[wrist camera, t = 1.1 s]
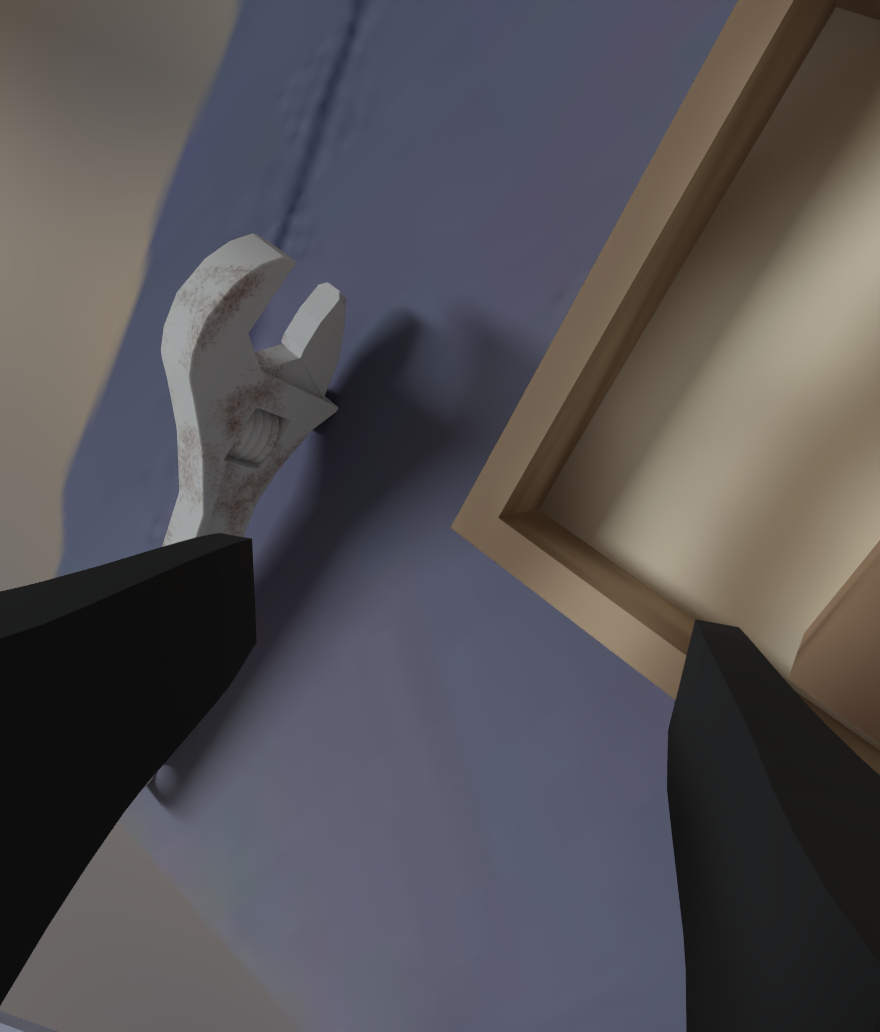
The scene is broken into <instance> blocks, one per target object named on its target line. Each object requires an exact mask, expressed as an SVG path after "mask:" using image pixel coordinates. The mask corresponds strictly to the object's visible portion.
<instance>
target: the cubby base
mask: <svg viewBox="0 0 880 1032" xmlns="http://www.w3.org/2000/svg"><path fill="white" fill-rule="evenodd" d="M451 528H452V529H453V530H454V531H455V532H457V533H458V534H459V535H461V536H462V537H463V538H465V539H466V540H467V541H469V542H470V543H471V544H472V545H474V546H475V547H476V548H478V549H479V550H480V551H482V552H483V553H484V554H485V555H487V556H488V557H489V558H491V559H492V560H493V561H495V562H496V563H497V564H499V565H500V566H501V567H502V568H504V569H505V570H506V571H508V572H509V573H510V574H512V575H513V576H514V577H516V578H517V579H518V580H519V581H521V582H522V583H523V584H525V585H526V586H527V587H529V588H530V589H531V590H532V591H534V592H535V593H536V594H538V595H539V596H540V597H542V598H543V599H544V600H546V601H547V602H548V603H549V604H551V605H552V606H553V607H555V608H556V609H557V610H559V611H560V612H561V613H563V614H564V615H565V616H566V617H568V618H569V619H570V620H572V621H573V622H574V623H576V624H577V625H578V626H579V627H581V628H582V629H583V630H585V631H586V632H587V633H589V634H590V635H591V636H593V637H594V638H595V639H596V640H598V641H599V642H600V643H602V644H603V645H604V646H606V647H607V648H608V649H609V650H611V651H612V652H613V653H615V654H616V655H617V656H619V657H620V658H621V659H623V660H624V661H625V662H626V663H628V664H629V665H630V666H632V667H633V668H634V669H636V670H637V671H638V672H640V673H641V674H642V675H643V676H645V677H646V678H647V679H649V680H650V681H651V682H653V683H654V684H655V685H656V686H658V687H659V688H660V689H662V690H663V691H664V692H666V693H667V694H668V695H670V696H671V697H672V698H673V699H675V700H676V696H677V692H678V688H679V684H680V680H681V676H682V672H683V668H684V663H685V659H686V655H687V651H688V647H689V643H690V639H691V635H692V631H693V627H694V622H695V619H697V620H702V621H708V622H713V623H719V624H724V625H730V626H735V627H739V628H740V629H741V630H742V631H743V632H744V633H745V634H746V635H747V636H748V638H749V639H750V640H751V641H752V642H753V643H754V644H755V646H756V647H757V648H758V649H759V650H760V651H761V653H762V654H763V655H764V656H765V657H766V658H767V660H768V661H769V662H770V663H771V664H772V665H773V667H774V668H775V669H776V670H777V671H778V672H779V674H780V675H781V676H782V677H783V678H784V679H785V680H786V681H787V683H788V684H789V685H790V686H791V687H792V688H793V689H794V690H795V692H796V693H797V694H798V695H799V696H800V697H801V698H802V699H803V700H804V701H805V702H806V704H807V705H808V706H809V707H810V708H811V709H812V710H813V711H814V712H815V713H816V714H817V715H818V716H819V717H820V718H821V719H822V720H823V721H824V722H825V723H826V724H827V725H828V727H829V728H830V729H831V730H832V731H833V732H834V733H835V734H836V735H838V736H839V737H840V738H841V739H842V740H843V741H844V742H845V743H846V744H847V745H848V746H849V747H850V748H851V749H852V750H853V751H854V752H855V753H856V754H857V755H858V756H859V757H860V758H861V759H862V760H863V761H865V762H866V763H867V764H868V765H869V766H870V767H871V768H872V769H873V770H874V771H876V772H877V773H878V774H879V775H880V743H879V742H877V741H876V740H874V739H873V738H872V737H870V736H869V735H867V734H866V733H864V732H863V731H862V730H860V729H859V728H857V727H856V726H854V725H853V724H852V723H850V722H849V721H847V720H846V719H844V718H843V717H842V716H840V715H839V714H837V713H836V712H835V711H833V710H832V709H830V708H829V707H827V706H826V705H825V704H823V703H822V702H820V701H819V700H817V699H816V698H815V697H813V696H812V695H810V694H809V693H808V692H806V691H805V690H803V689H802V688H800V687H799V686H798V685H796V684H795V683H793V682H792V681H790V680H789V679H788V677H789V674H790V671H791V669H792V666H793V663H794V660H795V657H796V655H797V652H798V649H799V646H800V643H801V641H802V638H803V635H804V633H805V631H806V630H807V629H808V628H809V626H810V625H811V624H812V623H813V622H814V620H815V619H816V618H817V617H818V615H819V614H820V613H821V612H822V610H823V609H824V608H825V607H826V606H827V604H828V603H829V602H830V601H831V599H832V598H833V597H834V596H835V595H836V593H837V592H838V591H839V590H840V588H841V587H842V586H843V585H844V583H845V582H846V581H847V580H848V579H849V577H850V576H851V575H852V574H853V572H854V571H855V570H856V569H857V568H858V566H859V565H860V564H861V563H862V561H863V560H864V559H865V558H866V556H867V555H868V554H869V553H870V552H871V550H872V549H873V548H874V547H875V545H876V544H877V543H878V542H879V541H880V0H738V2H737V4H736V5H735V7H734V9H733V11H732V13H731V15H730V16H729V18H728V20H727V22H726V24H725V26H724V27H723V29H722V31H721V33H720V35H719V37H718V38H717V40H716V42H715V44H714V46H713V48H712V49H711V51H710V53H709V55H708V57H707V59H706V60H705V62H704V64H703V66H702V68H701V70H700V71H699V73H698V75H697V77H696V79H695V81H694V82H693V84H692V86H691V88H690V90H689V92H688V93H687V95H686V97H685V99H684V101H683V103H682V104H681V106H680V108H679V110H678V112H677V114H676V115H675V117H674V119H673V121H672V123H671V125H670V126H669V128H668V130H667V132H666V134H665V136H664V137H663V139H662V141H661V143H660V145H659V147H658V148H657V150H656V152H655V154H654V156H653V158H652V159H651V161H650V163H649V165H648V167H647V169H646V170H645V172H644V174H643V176H642V178H641V180H640V181H639V183H638V185H637V187H636V189H635V191H634V192H633V194H632V196H631V198H630V200H629V202H628V203H627V205H626V207H625V209H624V211H623V213H622V214H621V216H620V218H619V220H618V222H617V224H616V225H615V227H614V229H613V231H612V233H611V235H610V236H609V238H608V240H607V242H606V244H605V246H604V247H603V249H602V251H601V253H600V255H599V257H598V258H597V260H596V262H595V264H594V266H593V268H592V269H591V271H590V273H589V275H588V277H587V279H586V280H585V282H584V284H583V286H582V288H581V290H580V291H579V293H578V295H577V297H576V299H575V301H574V302H573V304H572V306H571V308H570V310H569V312H568V313H567V315H566V317H565V319H564V321H563V323H562V324H561V326H560V328H559V330H558V332H557V334H556V335H555V337H554V339H553V341H552V343H551V345H550V346H549V348H548V350H547V352H546V354H545V356H544V357H543V359H542V361H541V363H540V365H539V367H538V368H537V370H536V372H535V374H534V376H533V378H532V379H531V381H530V383H529V385H528V387H527V389H526V390H525V392H524V394H523V396H522V398H521V400H520V401H519V403H518V405H517V407H516V409H515V411H514V412H513V414H512V416H511V418H510V420H509V422H508V423H507V425H506V427H505V429H504V431H503V433H502V434H501V436H500V438H499V440H498V442H497V444H496V445H495V447H494V449H493V451H492V453H491V455H490V456H489V458H488V460H487V462H486V464H485V466H484V467H483V469H482V471H481V473H480V475H479V477H478V478H477V480H476V482H475V484H474V486H473V488H472V489H471V491H470V493H469V495H468V497H467V499H466V500H465V502H464V504H463V506H462V508H461V510H460V511H459V513H458V515H457V517H456V519H455V521H454V522H453V524H452V526H451Z"/></svg>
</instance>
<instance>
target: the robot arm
mask: <svg viewBox="0 0 880 1032" xmlns="http://www.w3.org/2000/svg"><path fill="white" fill-rule="evenodd" d="M255 643H256V619H255V597H254V574H253V552H252V539H250V538H245V537H239V536H234V535H228V534H223V533H216V534H210V535H205V536H200V537H196V538H192V539H188V540H184V541H181V542H177V543H174V544H170V545H167V546H164V547H160V548H157V549H154V550H150V551H147V552H144V553H141V554H137V555H134V556H131V557H127V558H124V559H121V560H118V561H114V562H111V563H108V564H104V565H101V566H97V567H94V568H90V569H87V570H83V571H79V572H76V573H72V574H68V575H65V576H61V577H57V578H54V579H50V580H47V581H43V582H39V583H35V584H31V585H27V586H23V587H19V588H14V589H10V590H5V591H1V592H0V1005H1V1003H2V1002H3V1000H4V998H5V997H6V995H7V993H8V991H9V990H10V988H11V987H12V985H13V983H14V982H15V980H16V978H17V977H18V975H19V973H20V972H21V970H22V968H23V967H24V965H25V963H26V962H27V960H28V958H29V957H30V955H31V954H32V952H33V950H34V948H35V947H36V945H37V944H38V942H39V940H40V938H41V937H42V935H43V934H44V932H45V930H46V929H47V927H48V925H49V924H50V922H51V921H52V919H53V918H54V916H55V914H56V913H57V911H58V910H59V908H60V907H61V905H62V904H63V902H64V901H65V899H66V897H67V896H68V894H69V893H70V891H71V890H72V888H73V887H74V885H75V884H76V882H77V880H78V879H79V877H80V876H81V874H82V873H83V871H84V870H85V868H86V867H87V865H88V864H89V862H90V861H91V859H92V858H93V856H94V855H95V853H96V852H97V850H98V849H99V848H100V846H101V845H102V843H103V842H104V840H105V839H106V838H107V836H108V835H109V833H110V832H111V830H112V829H113V827H114V826H115V825H116V823H117V822H118V820H119V819H120V817H121V816H122V814H123V813H124V812H125V810H126V809H127V808H128V806H129V805H130V804H131V803H132V801H133V800H134V799H135V798H136V796H137V795H138V794H139V792H140V791H141V790H142V789H143V787H144V786H145V785H146V784H147V783H148V782H149V780H150V779H151V778H152V777H153V776H154V775H155V773H156V772H157V771H158V770H159V769H160V768H161V766H162V765H163V764H164V763H165V762H166V761H167V759H168V758H169V757H170V756H171V755H172V754H173V752H174V751H175V750H176V749H177V748H178V747H179V745H180V744H181V743H182V742H183V741H184V740H185V738H186V737H187V736H188V735H189V734H190V733H191V731H192V730H193V729H194V728H195V727H196V726H197V724H198V723H199V722H200V721H201V720H202V718H203V717H204V716H205V715H206V714H207V713H208V711H209V710H210V709H211V708H212V707H213V705H214V704H215V703H216V702H217V701H218V699H219V698H220V697H221V696H222V694H223V693H224V692H225V691H226V690H227V688H228V687H229V685H230V684H231V682H232V681H233V679H234V678H235V676H236V675H237V673H238V671H239V670H240V668H241V667H242V665H243V663H244V662H245V660H246V658H247V657H248V655H249V653H250V652H251V650H252V648H253V647H254V645H255ZM667 792H668V802H669V811H670V821H671V830H672V839H673V848H674V856H675V865H676V874H677V882H678V891H679V900H680V909H681V917H682V926H683V935H684V950H685V964H686V1022H687V1032H880V775H879V774H878V773H877V772H876V771H874V770H873V769H872V768H871V767H870V766H869V765H868V764H867V763H866V762H865V761H863V760H862V759H861V758H860V757H859V756H858V755H857V754H856V753H855V752H854V751H853V750H852V749H851V748H850V747H849V746H848V745H847V744H846V743H845V742H844V741H843V740H842V739H841V738H840V737H839V736H838V735H836V734H835V733H834V732H833V731H832V730H831V729H830V728H829V727H828V725H827V724H826V723H825V722H824V721H823V720H822V719H821V718H820V717H819V716H818V715H817V714H816V713H815V712H814V711H813V710H812V709H811V708H810V707H809V706H808V705H807V704H806V702H805V701H804V700H803V699H802V698H801V697H800V696H799V695H798V694H797V693H796V692H795V690H794V689H793V688H792V687H791V686H790V685H789V684H788V683H787V681H786V680H785V679H784V678H783V677H782V676H781V675H780V674H779V672H778V671H777V670H776V669H775V668H774V667H773V665H772V664H771V663H770V662H769V661H768V660H767V658H766V657H765V656H764V655H763V654H762V653H761V651H760V650H759V649H758V648H757V647H756V646H755V644H754V643H753V642H752V641H751V640H750V639H749V638H748V636H747V635H746V634H745V633H744V632H743V631H742V630H741V629H740V628H739V627H735V626H730V625H724V624H719V623H713V622H708V621H702V620H697V619H695V622H694V627H693V631H692V635H691V639H690V643H689V647H688V651H687V655H686V659H685V663H684V668H683V672H682V676H681V680H680V684H679V688H678V692H677V696H676V700H675V705H674V709H673V713H672V717H671V721H670V725H669V729H668V762H667ZM0 1032H57V1031H55V1030H53V1029H50V1028H47V1027H44V1026H42V1025H39V1024H36V1023H33V1022H31V1021H28V1020H25V1019H22V1018H19V1017H17V1016H14V1015H11V1014H8V1013H5V1012H3V1011H0Z"/></svg>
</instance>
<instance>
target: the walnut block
mask: <svg viewBox="0 0 880 1032" xmlns="http://www.w3.org/2000/svg"><path fill="white" fill-rule="evenodd" d="M788 679H789V680H790V681H792V682H793V683H795V684H796V685H798V686H799V687H800V688H802V689H803V690H805V691H806V692H808V693H809V694H810V695H812V696H813V697H815V698H816V699H817V700H819V701H820V702H822V703H823V704H825V705H826V706H827V707H829V708H830V709H832V710H833V711H835V712H836V713H837V714H839V715H840V716H842V717H843V718H844V719H846V720H847V721H849V722H850V723H852V724H853V725H854V726H856V727H857V728H859V729H860V730H862V731H863V732H864V733H866V734H867V735H869V736H870V737H872V738H873V739H874V740H876V741H877V742H879V743H880V541H879V542H878V543H877V544H876V545H875V547H874V548H873V549H872V550H871V552H870V553H869V554H868V555H867V556H866V558H865V559H864V560H863V561H862V563H861V564H860V565H859V566H858V568H857V569H856V570H855V571H854V572H853V574H852V575H851V576H850V577H849V579H848V580H847V581H846V582H845V583H844V585H843V586H842V587H841V588H840V590H839V591H838V592H837V593H836V595H835V596H834V597H833V598H832V599H831V601H830V602H829V603H828V604H827V606H826V607H825V608H824V609H823V610H822V612H821V613H820V614H819V615H818V617H817V618H816V619H815V620H814V622H813V623H812V624H811V625H810V626H809V628H808V629H807V630H806V631H805V633H804V635H803V638H802V641H801V643H800V646H799V649H798V652H797V655H796V657H795V660H794V663H793V666H792V669H791V671H790V674H789V677H788Z"/></svg>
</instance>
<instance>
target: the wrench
mask: <svg viewBox="0 0 880 1032" xmlns="http://www.w3.org/2000/svg"><path fill="white" fill-rule="evenodd" d="M295 264H296V261H294V260H293V259H292V258H290V257H289V256H288V255H286V254H285V253H284V252H282V251H281V250H279V249H278V248H277V247H275V246H274V245H273V244H271V243H270V242H269V241H267V240H266V239H264V238H262V237H260V236H257V235H255V234H250V235H247V236H244V237H241V238H238V239H235V240H232V241H229V242H228V243H227V244H225V245H224V246H222V247H221V248H219V249H218V250H217V251H215V252H214V253H212V254H211V255H209V256H208V257H207V258H205V259H204V260H203V262H202V263H201V264H200V265H199V267H198V268H197V269H196V270H195V271H194V273H193V274H192V275H191V276H190V277H189V279H188V280H187V281H186V282H185V283H184V285H183V286H182V287H181V288H180V289H179V291H178V292H177V294H176V296H175V299H174V301H173V304H172V307H171V309H170V312H169V315H168V317H167V320H166V323H165V325H164V329H163V338H162V346H161V354H162V360H163V364H164V368H165V371H166V375H167V380H168V385H169V390H170V395H171V400H172V406H173V411H174V416H175V421H176V426H177V442H178V465H179V488H180V492H179V495H178V498H177V501H176V504H175V508H174V511H173V514H172V517H171V520H170V524H169V527H168V530H167V533H166V537H165V540H164V543H163V546H162V547H164V546H167V545H170V544H174V543H177V542H181V541H184V540H188V539H192V538H196V537H200V536H205V535H210V534H216V533H223V534H228V535H234V536H239V537H244V534H245V531H246V529H247V526H248V524H249V521H250V519H251V516H252V513H253V511H254V508H255V506H256V503H257V502H258V500H259V499H260V497H261V496H262V494H263V492H264V491H265V489H266V488H267V486H268V485H269V483H270V482H271V480H272V479H273V477H274V475H275V474H276V472H277V471H278V470H279V469H280V467H281V466H282V465H283V464H284V463H285V461H286V460H287V459H288V458H289V457H290V455H291V454H292V453H293V452H294V451H295V449H296V448H297V447H298V446H299V445H300V443H301V442H302V441H303V440H304V439H305V437H306V436H307V435H308V434H309V433H310V431H311V430H313V429H314V428H316V427H317V426H318V425H319V424H321V423H322V422H323V421H325V420H326V419H327V418H329V417H330V416H331V415H333V414H334V413H335V412H337V410H338V408H339V407H337V406H336V405H335V404H334V403H333V402H331V401H330V400H329V399H328V398H327V397H325V394H326V391H327V389H328V386H329V384H330V381H331V379H332V376H333V373H334V371H335V368H336V366H337V363H338V360H339V356H340V350H341V344H342V339H343V333H344V326H345V308H346V298H345V297H344V296H343V295H342V294H341V292H340V291H339V290H337V289H336V288H335V287H333V286H332V285H330V284H329V283H323V284H319V285H318V286H317V288H316V289H315V290H314V291H313V292H312V294H311V295H310V296H309V297H308V299H307V300H306V301H305V302H304V303H303V305H302V306H301V307H300V309H299V310H298V312H297V314H296V315H295V317H294V319H293V320H292V322H291V323H290V325H289V327H288V328H287V330H286V332H285V333H284V336H283V339H282V344H281V345H278V346H274V347H271V348H268V349H264V350H261V351H258V352H255V351H254V348H253V345H252V343H251V340H250V337H249V334H248V333H249V331H250V330H251V328H252V327H253V325H254V324H255V322H256V321H257V319H258V318H259V316H260V315H261V314H262V312H263V311H264V309H265V308H266V306H267V305H268V303H269V302H270V300H271V299H272V297H273V296H274V295H275V293H276V292H277V290H278V289H279V287H280V286H281V284H282V283H283V281H284V280H285V278H286V277H287V275H288V274H289V273H290V271H291V270H292V268H293V267H294V265H295ZM153 777H154V776H153ZM153 777H152V778H151V779H150V780H149V782H148V783H147V784H146V785H145V786H147V785H148V784H149V783H150V782H151V781H152V779H153ZM145 786H144V787H145ZM144 787H143V788H144Z"/></svg>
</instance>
